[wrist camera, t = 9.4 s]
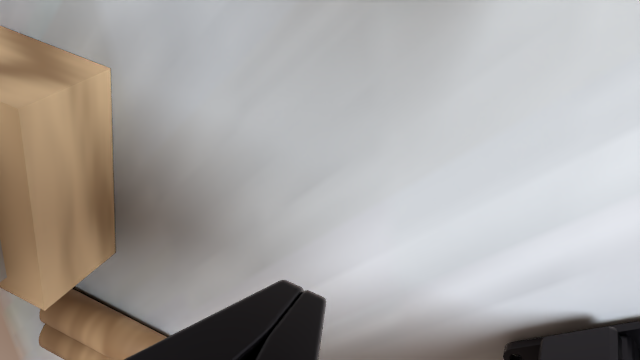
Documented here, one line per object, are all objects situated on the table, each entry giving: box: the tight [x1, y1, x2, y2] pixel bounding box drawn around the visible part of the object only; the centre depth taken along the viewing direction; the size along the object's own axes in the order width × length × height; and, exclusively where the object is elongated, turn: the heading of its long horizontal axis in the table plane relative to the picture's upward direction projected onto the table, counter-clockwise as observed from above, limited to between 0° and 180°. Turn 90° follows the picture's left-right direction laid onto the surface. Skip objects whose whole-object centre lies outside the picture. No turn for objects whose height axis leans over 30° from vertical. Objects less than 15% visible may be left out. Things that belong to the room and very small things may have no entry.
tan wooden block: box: [0, 26, 116, 311], centre depth 27 cm, size 7×11×5 cm, turn 169°
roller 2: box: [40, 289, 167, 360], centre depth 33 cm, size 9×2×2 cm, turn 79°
